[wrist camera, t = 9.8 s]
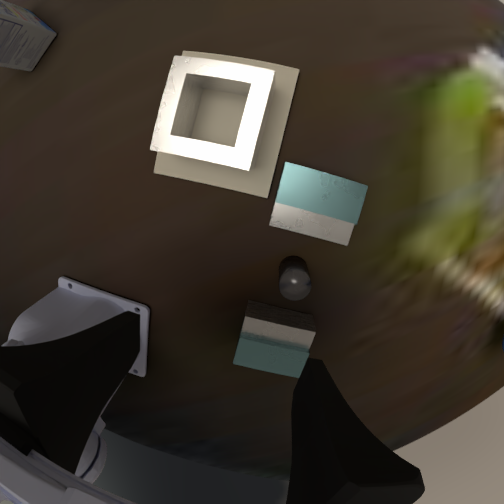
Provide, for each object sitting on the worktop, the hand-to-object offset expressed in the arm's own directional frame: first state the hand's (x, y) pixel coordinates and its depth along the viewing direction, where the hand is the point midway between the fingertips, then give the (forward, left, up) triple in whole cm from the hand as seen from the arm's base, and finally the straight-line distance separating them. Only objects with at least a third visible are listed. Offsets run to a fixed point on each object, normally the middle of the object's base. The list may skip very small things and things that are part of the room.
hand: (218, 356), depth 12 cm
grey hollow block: (-4, +10, -10) cm, 14 cm away
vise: (+3, +1, -10) cm, 11 cm away
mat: (-4, +10, -10) cm, 15 cm away
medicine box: (-26, +17, -11) cm, 32 cm away
